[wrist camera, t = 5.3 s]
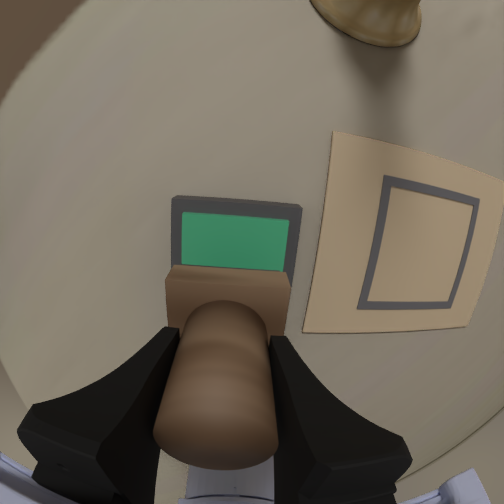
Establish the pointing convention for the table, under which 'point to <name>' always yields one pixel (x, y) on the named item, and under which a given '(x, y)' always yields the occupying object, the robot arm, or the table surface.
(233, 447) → the stamp
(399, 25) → the hand bell
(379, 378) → the table surface
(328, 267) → the plate
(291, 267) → the ink pad
